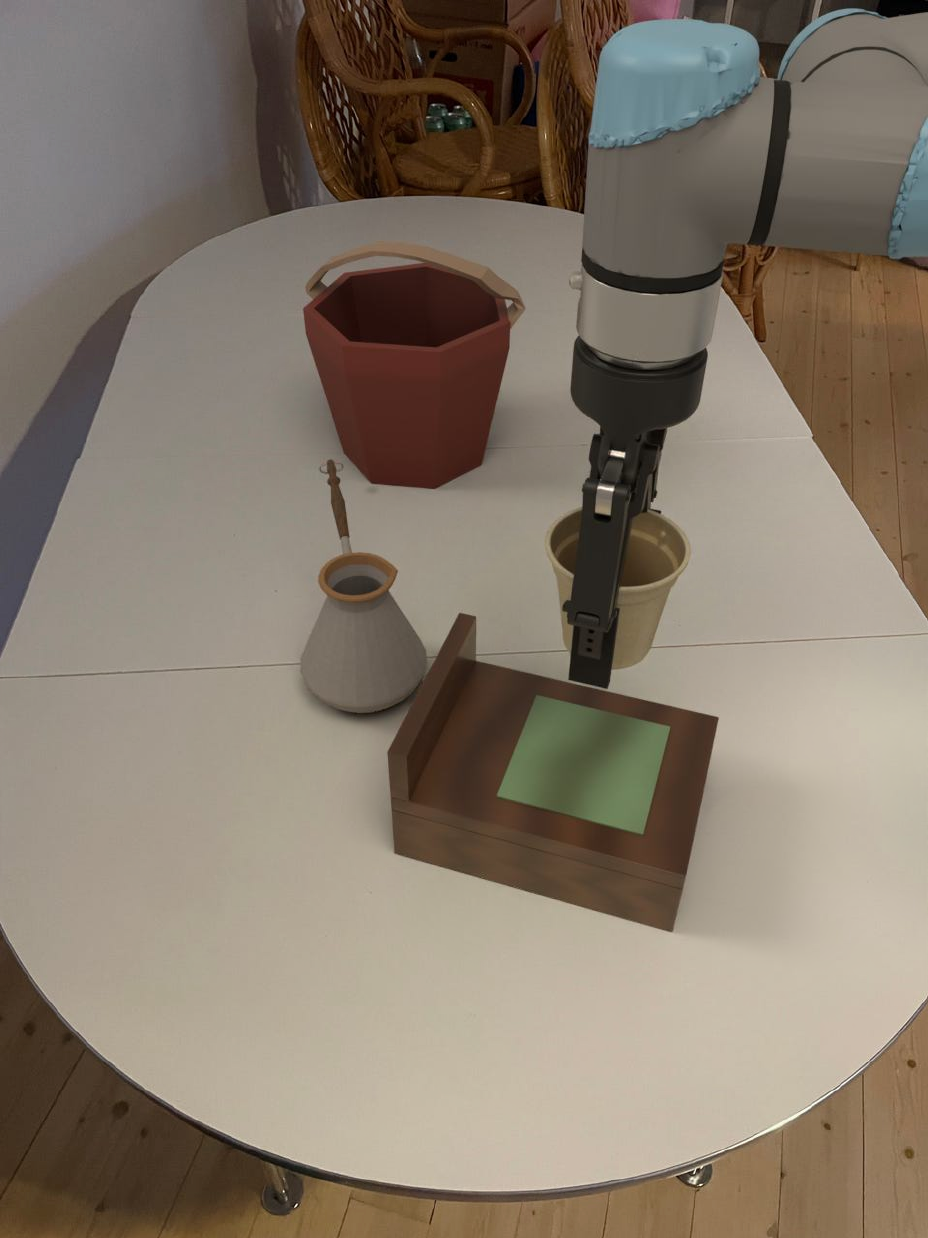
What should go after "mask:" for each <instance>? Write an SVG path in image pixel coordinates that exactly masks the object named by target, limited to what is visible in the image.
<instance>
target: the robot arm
mask: <svg viewBox="0 0 928 1238" xmlns="http://www.w3.org/2000/svg"><path fill="white" fill-rule="evenodd" d="M601 49H602V50H601V52H600V55H599V59H598V67H597V74H596V83H595V92H594V100H593V106H592V107H593V108H592V115H591V123H590V129H589V133H588V149H587V162H586V163H587V164H586V179H585V196H584V212H583V224H582V225H583V227H582V228H583V229H582V241H581V243H582V244H581V258H580V263H581V267H580V271H579V270H578V271H576V270H575V271H573V272H572V273H571V275H570V277H569V279H568V283H569V287H570V288H571V289H573V290H577V291H580V295H579V298H578V301H577V312H576V324H575V328H576V333H577V334H578V336H577V337H576V338H575V340H574V343H573V350H572V351H573V352H572V363H571V364H572V365H571V374H570V375H571V376H570V391H569V392H570V397H571V400H572V402H573V403H574V406H575V407H576V408H577V409H578V411H579V412H581V414H583V415H585V416H586V417H587V418H589V419H591V420H592V421H593V422H595V423H596V424H597V425H598V426H599V433H594V434H593V435H592V438H591V442H590V448H589V452H588V453H589V454H588V462H589V464H590V471H589V477H586V479H585V480H584V483H583V484H582V487H581V493H582V501H581V502H582V503H581V507H582V518H581V525H580V533H579V540H578V547H577V555H576V562H575V570H574V577H573V585H572V592H571V599H570V600H566V601H565V602H564V604H563V607H562V611H563V612H568V613H567V618H568V619H567V622H568V624H569V625H574V626H573V636H572V647H571V654H570V658H569V666H568V667H569V668H568V678H567V679H568V681H571V682H576V683H579V684H583V685H588V686H591V687H592V686H593V687H595V688H596V687H597V688H601V689H604V690H608V689H609V686H610V683H611V678H612V671H613V670H612V663H613V656H614V648H615V641H616V633H617V626H618V619H619V611H620V609H619V608H616V606H617V601H618V595H619V589H620V585H621V580H622V575H623V569H624V564H625V559H626V554H627V549H628V544H629V538H630V533H631V528H632V523H633V518H634V517H635V516H638V515H639V514H640V513H647V511H648V509H650V510H652V511H655V512H657V513H660V514H662V510H659V509H655V508H652V507H651V506H652V503H654V501H655V499H656V498H657V496H658V490H657V486H658V478H659V470H660V469H659V468H660V462H661V459H662V452H663V448H664V445H665V441H666V437H667V434H668V429H669V428H672V427H675V426H677V425H679V424H682V423H684V422H685V421H687V420H688V419H690V418H691V417H692V416H693V415H694V414H695V413H696V411H697V410H698V409H699V405H700V403H701V399H702V393H703V386H704V380H705V375H706V369H707V363H708V357H709V355H708V353H709V352H708V348H707V347H708V346H709V344H711V342H712V338H713V333H714V328H715V322H716V317H717V311H718V306H719V300H720V295H721V289H722V283H723V277H724V270H723V269H724V263H725V254H726V251H727V247H728V245H731V244H736V245H737V244H738V245H739V244H740V245H747V246H756V247H757V246H758V247H759V246H760V247H763V246H764V247H765V246H766V247H775V248H776V247H777V248H789V249H800V250H814V251H826V252H836V253H837V252H838V253H849V254H862V255H873V256H885V257H889V259H892V260H900V259H902V258H928V11H926V12H919V13H914V14H913V13H911V14H906V15H899V16H892V17H886V16H885V15H884V16H883V15H880V14H879V13H878V12H875V11H869V10H866V9H863V8H842V9H837V10H834V11H831V12H828V13H826V14H824V15H822V16H820V17H818V18H816V19H814V20H813V21H812V22H810V23H809V24H808V25H807V26H806V27H804V29H802V30H801V31H800V32H799V33H798V34H797V35H796V36H795V38H794V39H793V40H792V41H791V43H790V44H789V47H788V48H787V50H786V51H785V54H784V56H783V58H782V60H781V63H780V66H779V69H778V73H777V79H774V78H773V77H762V76H761V67H760V66H759V64H760V63H759V62H760V46H759V43H758V41H757V39H756V37H754V36H753V34H751V33H750V32H749V31H747V30H745V29H743V28H740V27H738V26H735V25H731V24H728V23H722V22H721V23H720V22H716V23H715V22H708V21H704V20H702V19H689V18H688V19H687V18H667V19H654V20H647V21H640V22H636V23H632V24H630V25H628V26H625V27H623V28H621V29H619V30H618V31H617V32H615V33H613V35H611V37H610V38H609V40H608V41H607V42H606V44H605V45H604V46H603V47H602V48H601Z"/></svg>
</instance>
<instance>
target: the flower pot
mask: <svg viewBox="0 0 928 1238" xmlns="http://www.w3.org/2000/svg"><path fill="white" fill-rule="evenodd" d="M581 518H582V506H579V507H576V508H573V509H571V510H569V511H567V512H565V513H563V514H562V515H560V516H559V517H558V518H556V519H555V520H554V522H553V523H551V525H550V526H549V528H548V530H547V531H546V534H545V539H544V544H545V551H546V556H547V557H548V560H549V561H550V563H551V565H552V570H553V572H554V574H555V576H556V582H557V591H558V592H557V593H558V602H559V611H560V619H561V620H560V621H561V629H562V631H561V632H562V642H563V644H564V647H565V649H566V650H567V652H568V653H569V654H570V655H571V647H572V636H573V626H574V625H569V624H568V622H567V619H568V618H567V613H568V612H563V611H562V607H563V604H564V602H565V601H566V600H570V599H571V592H572V585H573V577H574V570H575V562H576V555H577V547H578V540H579V533H580V525H581ZM691 549H692V548H691V543H690V541H689V538H688V537H687V535H686V533H685V532H684V531H683V530H682V529H681V527H679V525H677V523H675V522H674V521H673V520H672V519H670V518H668V517H667V516H665V515H664V514H662V513H661V514H660V513H657V512H655V511H652V510H650V509H648V511H647V513H640V514H639V515H638V516H635V517H634V518H633V523H632V528H631V533H630V538H629V544H628V549H627V554H626V559H625V564H624V569H623V575H622V580H621V585H620V589H619V595H618V601H617V606H616V608H619V609H620V611H619V619H618V626H617V633H616V641H615V648H614V656H613V663H612V670H611V671H613V670H614V671H615V670H616V671H617V670H623V669H627V668H630V667H632V666H635V665H637V664H639V663H641V662H642V661H643V660H644V659H645V658H646V656H647V655H648V654H649V652H650V651H651V649H652V646H653V643H654V639H655V636H656V633H657V630H658V628H659V624H660V621H661V619H662V615H663V613H664V609H665V607H666V603H667V601H668V597H669V594H670V592H671V589H672V588H673V587H674V586H675V584H676V583H677V582H678V579H679V577H680V576H681V575H682V574H683V572H684V571H685V570H686V568H687V567H688V565H689V562H690V559H691V555H692V550H691Z"/></svg>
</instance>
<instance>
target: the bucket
mask: <svg viewBox="0 0 928 1238" xmlns="http://www.w3.org/2000/svg"><path fill="white" fill-rule="evenodd" d="M374 257H389V258H398V259H399V258H400V259H405V260H412V261H416V262H420V263H412V264H403V265H396V266H387V267H379V268H371V269H363V270H356V271H349V272H348V271H347V272H346V271H345V272H343V273H342V274H341V275H339V277H337V278H336V279H335V280H334V281H333V282H332V283H331V284H329V285H328V286H327V285H326V284H324V282H322V279H323V278H324V277H325V275H326V274H327V273H328V272H329V271H332V270H334V269H337V268H339V267H341V266H343V265H345V264H350V263H353V262H356V261H359V260H360V261H361V260H364V259H369V258H374ZM304 288H305V292H306V294H307V295H308V296H309V297H310V298H311V299H312V300H311V301H310V302H308V304H306V305H305V306H304V307H303V308H302V311H303V313H302V314H303V320H304V321H303V322H304V330H305V336H306V339H307V342H308V345H309V348H310V352H311V355H312V358H313V360H314V365H315V367H316V371H317V373H318V377H319V379H320V383H321V386H322V389H323V392H324V395H325V398H326V401H327V404H328V408H329V412H330V414H331V416H332V421H333V424H334V426H335V429H336V433H337V436H338V439H339V442H340V445H341V448H342V452H343V454H344V455H345V457H346V458H348V459H349V461H350V462H351V463H352V464H353V465H354V466H355V467H356V469H358V471H360V473H361V474H362V475H363V476H364V477H365V478H366V479H367V481H369V483H370V484H373V485H386V486H399V487H408V488H420V489H432V490H435V489H437V488H439V487H441V486H443V485H445V484H447V483H449V482H451V481H453V480H456V479H457V478H459V477H460V476H463V475H464V474H466V473H468V472H470V471H472V470H474V469H476V468H478V467H480V466H482V465H483V460H484V457H485V453H486V449H487V444H488V442H489V441H488V440H489V436H490V431H491V427H492V424H493V420H494V415H495V411H496V407H497V403H498V398H499V394H500V390H501V387H502V386H501V385H502V382H503V377H504V373H505V370H506V365H507V361H508V356H509V353H510V347H511V329H512V328H513V327H514V325H516V323H517V322H518V321H519V319H520V318H521V316H522V315H523V314H524V312H525V311H526V310H527V308H526V306H525V304H524V302H523V300H522V298H521V295H520V292H519V291H518V289H516V288H515V287H514V286H512V285H511V284H510V283H509V282H507V281H505V280H504V279H503V278H501V277H500V276H498V275H497V274H496V273H495V272H494V271H493V270H492V269H491V268H490V267H488V266H485V265H482V264H480V263H477V262H475V261H471V260H468V259H466V258H463V257H460V256H457V255H455V254H452V253H449V252H445V251H443V250H439V249H435V248H433V247H428V246H423V245H418V244H413V243H408V242H400V241H399V242H398V241H386V240H385V241H384V240H381V241H378V242H374V243H369V244H365V245H362V246H359V247H355V248H352V249H349V250H347V251H346V252H343V253H340V254H338V255H334V256H332V257H330V258H329V259H328V261H326V262H324V264H322V265H321V266H320V267H319V268H318V269H317V270H316V272H314V274H313V275H312V276H311V277H310V278H309V280H308V281H307V282H306V283H305V285H304ZM506 300H508V301H512V303H510V305H509V306H508V307H507V301H506Z"/></svg>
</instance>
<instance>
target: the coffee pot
mask: <svg viewBox="0 0 928 1238" xmlns="http://www.w3.org/2000/svg"><path fill="white" fill-rule="evenodd" d="M336 464H337V465H341V467H339V469H337V466H336ZM324 466H326V471H325V470H322V467H324ZM343 469H344V464H343V463H342V462H341V461H337V460H333V459H331V458H330V459H328V460H326V462H324V463H322V464H320V465H319V468H318V470H319V472H320V473H322V474H325V475H328V478H327V481H326V483H327V486H330V505H331V509H332V513H333V517H334V521H335V524H336V525H335V526H336V530H337V533H338V537H339V540H340V544H341V551H342V554H340V555H338V556H335V557H333V558H332V559H330V560H329V561H327V562H326V563H325V564H324V565H323V566H322V567H321V569H320V571H319V573H318V578H317V579H318V582H317V583H318V585H319V587H320V589H321V591H322V592H323V593H324V594H325V595H326V598H325V600H324V603H323V604H322V607H321V609H320V611H319V614H318V616H317V618H316V621H315V623H314V626H313V628H312V630H311V633H310V635H309V637H308V639H307V642H306V644H305V646H304V648H303V651H302V654H301V655H300V663H299V665H300V666H299V667H300V669H299V670H300V674H301V677H302V679H303V683H304V684H305V686H306V687H307V689H309V691H310V692H311V693H312V694H313V695H314V697H316V699H318V700H319V701H321V702H323V703H324V704H326V705H327V706H329V707H331V708H335V709H336V710H337V709H338V710H340V711H343V712H349V713H355V712H356V713H355V714H369V713H370V714H371V713H376V712H380V711H383V709H384V710H385V709H388V708H391V707H392V706H394V705H397V704H399V703H401V702H404V700H405V699H407V698H408V697H409V696H410V695H411V694H413V693H414V691H415V690H416V688H417V687H418V685H419V684H420V683H421V681H422V679H423V678H424V675H425V673H426V669H427V665H428V657H427V650H426V648H425V646H424V644H423V642H422V640H421V638H420V637H419V635H418V633H417V632H416V630H415V628H414V626H412V624H411V623H410V621H409V620H408V618H407V616H406V614H404V612H403V610H402V609H401V608H400V606H399V604H398V603H397V601H396V600H395V598H394V597H393V595H392V593H391V592H390V591H389V590H390V589H391V588H392V586H393V585H394V583H395V580H396V578H397V575H398V573H399V570H398V569H397V568H396V566H394V565H393V564H392V563H391V562H390V561H388V560H387V559H386V558H384V557H382V556H380V555H377V554H374V553H370V552H360V551H358V552H357V551H356V552H353V551H352V546H351V542H350V531H349V523H348V517H347V515H348V514H347V509H346V508H347V507H346V501H345V498H344V496H343V493H342V490H341V488H340V484H341V478H340V477H339V476H338V475H337V473H339V472H341V471H342V470H343ZM375 711H376V712H375Z"/></svg>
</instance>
